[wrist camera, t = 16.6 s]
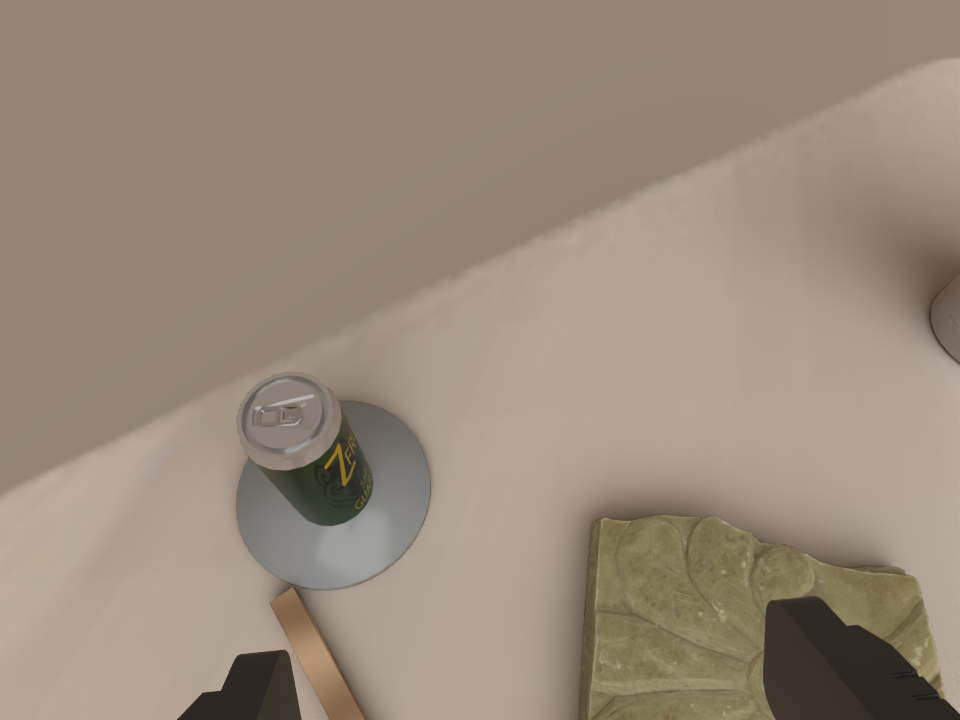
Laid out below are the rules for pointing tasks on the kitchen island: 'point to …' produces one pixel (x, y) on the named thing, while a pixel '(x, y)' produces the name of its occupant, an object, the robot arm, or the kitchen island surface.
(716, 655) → the decorative tile
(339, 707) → the beech turner
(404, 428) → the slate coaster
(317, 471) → the beer can
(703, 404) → the kitchen island surface
